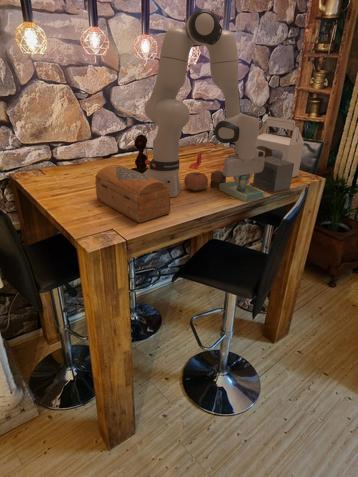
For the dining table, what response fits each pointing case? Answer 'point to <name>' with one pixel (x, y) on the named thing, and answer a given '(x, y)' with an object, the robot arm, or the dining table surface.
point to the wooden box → (132, 193)
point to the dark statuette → (141, 154)
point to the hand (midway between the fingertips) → (241, 184)
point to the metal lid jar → (242, 183)
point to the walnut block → (217, 179)
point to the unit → (274, 176)
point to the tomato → (196, 181)
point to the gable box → (282, 141)
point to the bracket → (195, 165)
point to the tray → (245, 196)
